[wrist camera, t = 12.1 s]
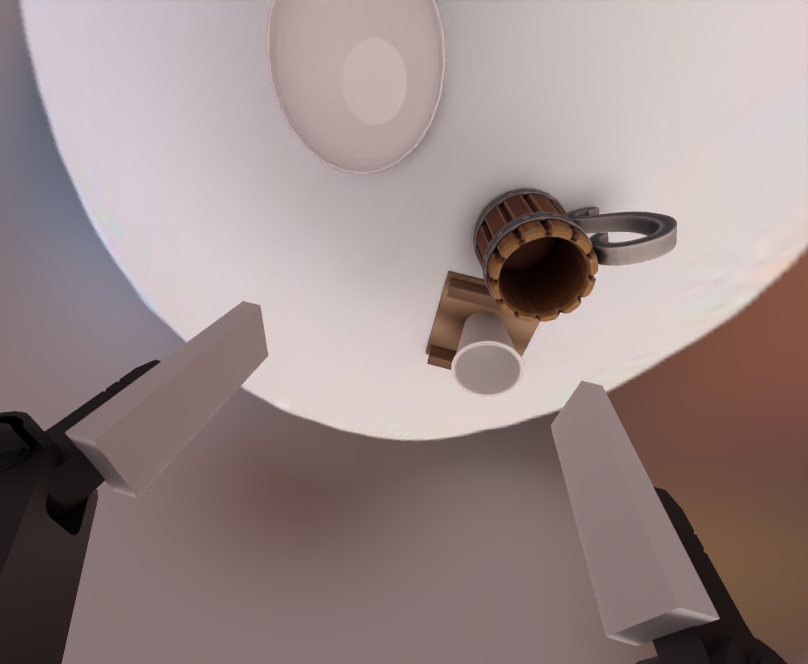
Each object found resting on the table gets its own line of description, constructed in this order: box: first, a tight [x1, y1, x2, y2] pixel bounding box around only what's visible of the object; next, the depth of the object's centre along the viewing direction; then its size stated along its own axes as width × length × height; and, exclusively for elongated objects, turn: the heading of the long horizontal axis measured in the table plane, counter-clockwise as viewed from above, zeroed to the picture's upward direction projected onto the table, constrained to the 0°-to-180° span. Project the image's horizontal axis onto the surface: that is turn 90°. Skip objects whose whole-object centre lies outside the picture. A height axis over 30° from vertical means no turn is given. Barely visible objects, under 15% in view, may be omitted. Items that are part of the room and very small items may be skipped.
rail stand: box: [426, 271, 540, 370], centre depth 43 cm, size 14×14×4 cm
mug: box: [474, 189, 677, 322], centre depth 30 cm, size 16×11×15 cm
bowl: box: [266, 0, 446, 175], centre depth 29 cm, size 16×16×7 cm
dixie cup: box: [451, 311, 524, 397], centre depth 39 cm, size 8×8×10 cm
